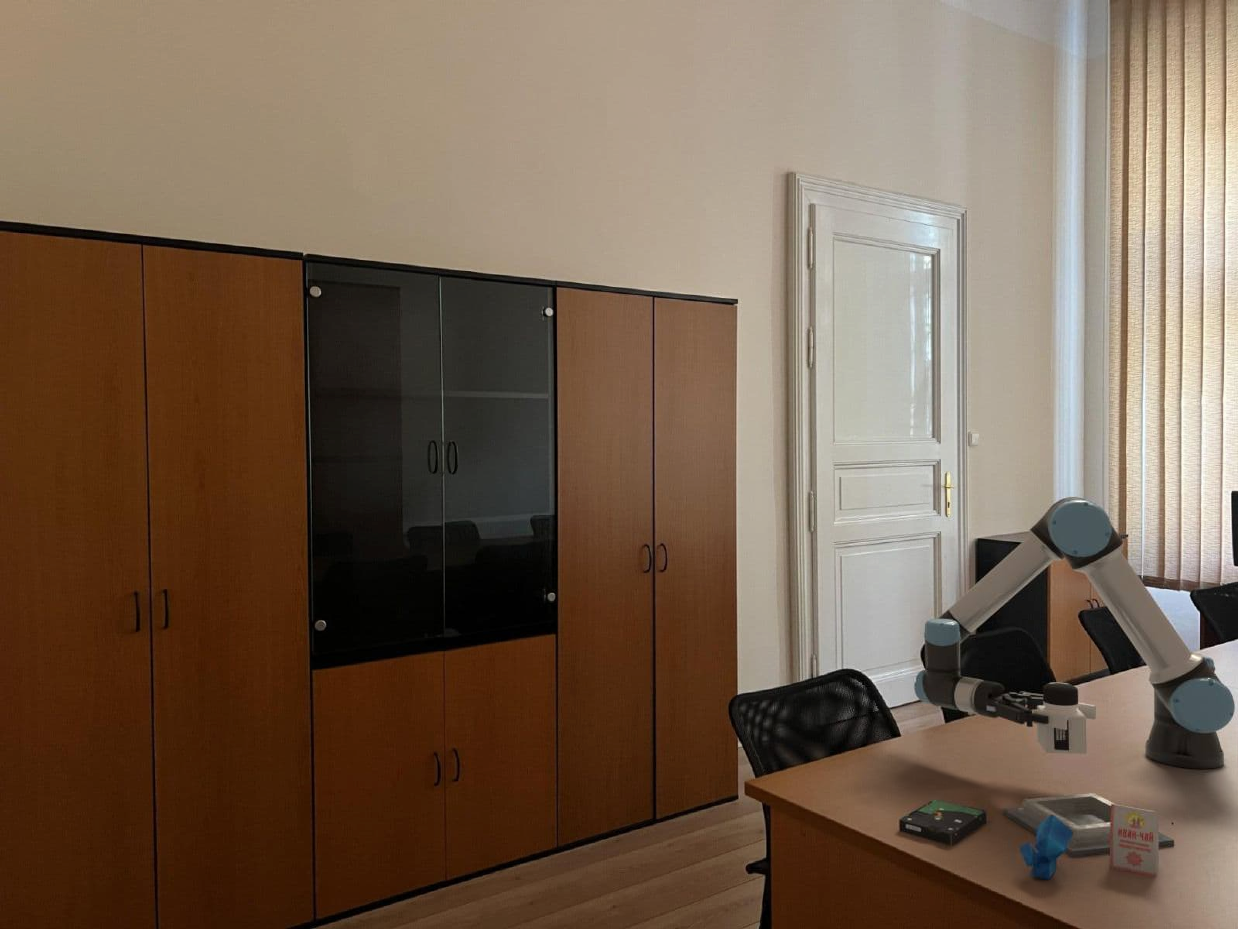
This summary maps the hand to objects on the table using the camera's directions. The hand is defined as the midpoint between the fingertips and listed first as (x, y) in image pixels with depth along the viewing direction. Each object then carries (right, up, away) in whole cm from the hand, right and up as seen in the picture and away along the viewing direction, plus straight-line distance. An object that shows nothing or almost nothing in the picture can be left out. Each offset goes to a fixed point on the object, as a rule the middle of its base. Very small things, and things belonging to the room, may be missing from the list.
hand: (1080, 717), depth 197 cm
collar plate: (-8, -16, -18) cm, 25 cm away
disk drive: (-33, -17, -16) cm, 40 cm away
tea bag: (-7, -16, -34) cm, 39 cm away
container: (-2, -7, +3) cm, 8 cm away
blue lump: (-22, -16, -36) cm, 45 cm away
